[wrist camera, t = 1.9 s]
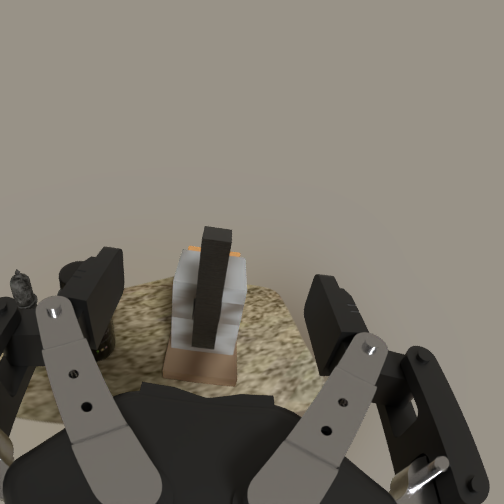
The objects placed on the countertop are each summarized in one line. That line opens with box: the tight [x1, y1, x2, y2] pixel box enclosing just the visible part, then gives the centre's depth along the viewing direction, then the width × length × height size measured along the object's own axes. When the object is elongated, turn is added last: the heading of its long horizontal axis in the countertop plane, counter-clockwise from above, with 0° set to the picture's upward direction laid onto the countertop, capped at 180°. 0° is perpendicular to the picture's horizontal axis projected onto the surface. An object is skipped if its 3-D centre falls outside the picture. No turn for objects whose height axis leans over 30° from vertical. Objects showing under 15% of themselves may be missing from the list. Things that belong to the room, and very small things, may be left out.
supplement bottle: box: [57, 261, 115, 362], centre depth 33 cm, size 7×7×12 cm
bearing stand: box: [163, 249, 247, 386], centre depth 39 cm, size 9×16×12 cm, turn 3°
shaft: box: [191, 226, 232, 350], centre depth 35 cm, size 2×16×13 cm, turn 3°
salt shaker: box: [10, 270, 37, 309], centre depth 30 cm, size 6×6×12 cm
